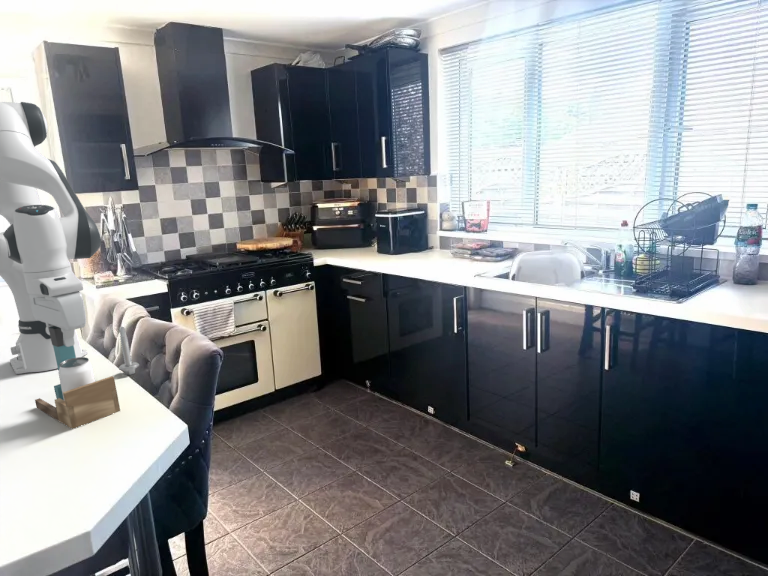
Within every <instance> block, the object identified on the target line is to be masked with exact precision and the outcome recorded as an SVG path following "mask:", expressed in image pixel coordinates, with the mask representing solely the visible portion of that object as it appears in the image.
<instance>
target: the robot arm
mask: <svg viewBox="0 0 768 576" xmlns="http://www.w3.org/2000/svg"><path fill="white" fill-rule="evenodd" d="M48 124H49V123H48V120H47V118H46V116H45V115H44V113H43V111H42V110H41V108H40V107H39V106H37V105H36V104H35V103H31V102H24V101H20V102H11V101H0V216H2V217H4V218H5V219H6V220H7V222H8V224H10V225H9V226H8V227H7V228H6V229H5V231H2V232H0V277H1V279H3V280H4V282H5V283H6V284H7V286H8V288H9V289H10V291H11V294H12V296H13V298H14V299H13V300H14V303H15V306H16V309H17V315H18V318H19V320H18V325H17V327H18V331H19V336H18V338H17V340H16V342H15V346H11V347H10V352H11V355H12V356H15V355H17V356H15V357H12V358H11V359H9V363H10V366H11V368H12V369H13V371H14V373H15V375H21V374H27V373H38V372H46V371H51V370H56V369H57V370H58V366H57V362H56V357H55V352H54V348H53V345H52V342H51V337H50V332H49V328H48V327H52V326H56V327H59V328H61V331H62V332H63V338H62V341H63V345H64V346H67V347H69V346H74V350H75V355H76V358H78V357H85V356H86V355H88V351H87V350H86V349H82V347H81V343H80V340H79V337H78V332H77V330H78V329H81V328H84V327H85V326H86V324H87V315H86V314H87V313H86V307H85V302H84V298H83V294H82V292H81V291H83V290H84V283H83V282H82V280H81V279H79V277H77V276H76V274H75V273H74V271H73V269H72V264H71V262H70V260H81V259H82V260H83V259H91V258H92V257H93V256H94V255H95V254H96V253H97V252H98V251H99V249H100V248H101V246H102V237H101V232H100V230H99V228H98V226H97V225H96V223H95V221H94V219H93V218H92V217H91V216H90V214H89V213H88V212H87V210H86V209H85V207H84V206H83V204H82V202H81V201H80V199H79V197H78V195H77V194H76V192H75V191H74V188H73V186H72V185H71V183H70V181H69V180H68V178H67V176H66V175H65V173H64V172H63V171H62V169H61V167H60V166H59V165H58V164H57V163H56V161H54V160H52V159H50V158H48V157H46V156H45V155H43V154H42V153H41V152H40V151H39V150H38V149H37V148H36V146H39V145H40V144H42V143H43V142H44V141H46V139H47V137H48V136H47V135H48V131H49V130H48V129H49V125H48ZM37 189H38V190H42V191H44V192H45V193H48V194H49V195H51V196H52V198H53V199H54V201H55V202H56V204H57V206H58V208H59V209H60V211H61V213H62V214H63V217H59V214H58V211H57V209H56V208H55V207H54V206H51V205H48V204H42V202H41V199H40V197H39V193H38V190H37Z"/></svg>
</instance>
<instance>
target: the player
mask: <svg viewBox="0 0 768 576" xmlns="http://www.w3.org/2000/svg"><path fill="white" fill-rule="evenodd" d="M48 328H49V332H50V337H51V342H52V345H53V348H54V352H55V357H56V362H57V366H58V368H57V371H58V372H59V368H60V366H59V364H60V363H61V362H63V361H65V360H68V359H72V358H76V355H75V350H74V346H69V347H67V346H64V345H63V341H62V338H63V332H62V331H61V328H59V327H56V326H52V327H48ZM53 389H54V393H55V399H58V398H60V399H62V400H64V399H63V394H62V389H61V384H60V383H59V384H56V385H53Z"/></svg>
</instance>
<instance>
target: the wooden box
mask: <svg viewBox="0 0 768 576" xmlns="http://www.w3.org/2000/svg"><path fill="white" fill-rule="evenodd" d="M63 395H64V400H65V401H64V400H62V399H60V398H58V399H56V398H55V399H54V404H55V406H54V405H53V404H51V403H49V402H47V401H45V400H43V399H42V398H40V397H39V398H36V399H34V402H35V406H36V408H37V410H39V411H41V412H43V413H45V414H46V415H48V416H49V417H51V418H53V419H55V420H56V421H58V422H59V421H60V424H61V423H62V424H63V425H64V424H65V425H64V426H66V425H67V426H66V427H68V428H69V427H70V428H69V429H71V428H72V429H71V430H74V429H73V428H75V429H77V428H79V427H78V426H80V427H82V426H81V425H83V426H85V425H87V423H88V424H91V423H92V421H93V422H96V421H98V420H100V419H103V418H106V417H108V416H111V415H114V414H116V413H118V412H121V408H120V401H119V396H118V391H117V386H116V380H115V377H114V376H113V375H112V376H109V377H105V378H102V379H99V380H95V382H93V383H90V384H87V385H84V386H81V387H78V388H75V389H72V390H69V391H66V392H63ZM113 413H114V414H113ZM84 424H85V425H84ZM76 427H77V428H76Z"/></svg>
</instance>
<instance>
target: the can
mask: <svg viewBox="0 0 768 576" xmlns="http://www.w3.org/2000/svg"><path fill="white" fill-rule="evenodd" d="M89 359H90V358H88V357H85V356H82V357H78V358H72V359H68V360H65V361H63V362H61V363H60V364H59V366H60V368H59V371H58V378H59V384H61V389H62V394H63V392H66V391H69V390H72V389H75V388H78V387H81V386H84V385H87V384H90V383H93V382H96V380H95V375H94V369H93V364H92V363H91V362H90V360H89ZM63 399H64V395H63ZM64 401H65V400H64Z"/></svg>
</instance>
